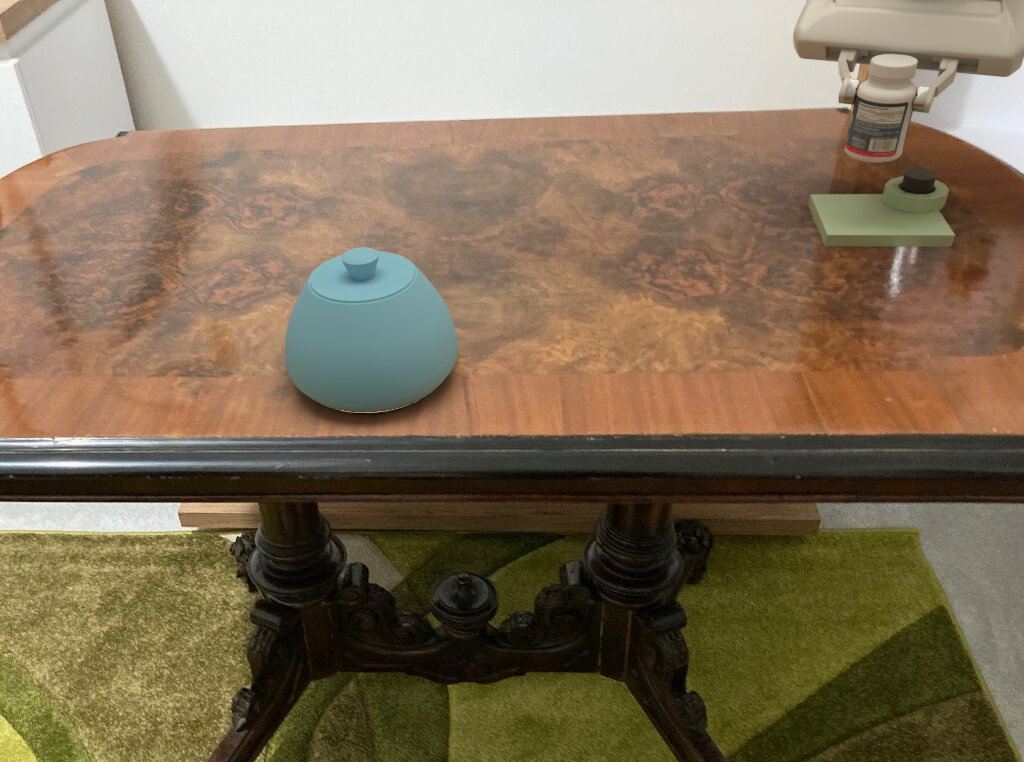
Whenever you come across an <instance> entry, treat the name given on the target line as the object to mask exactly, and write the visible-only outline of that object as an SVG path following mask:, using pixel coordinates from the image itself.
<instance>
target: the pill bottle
mask: <svg viewBox="0 0 1024 762" xmlns="http://www.w3.org/2000/svg"><path fill="white" fill-rule="evenodd" d="M917 64H918V60H917V59H916V58H914V57H911V56H908V55H902V54H883V55H877V56H875V57H873V58H872V59H871V62H870V65H869V66H868V70H867V76H868V77H869V78H868V79H866V80H864V81H863V82H861V83H860V86H859V87H858V90H857V93H856V98H855V103H854V105H853V107H852V113H851V117H850V121H849V126H848V131H847V135H846V138H845V139H846V140H845V145H844V152H845V155H847V156H848V157H850V158H852V159H855V160H857V161H861V162H866V163H887V162H892V161H895V160H897V159H899V158H900V157H901V156H902V155H903V153H904V149H905V146H906V145H905V144H906V140H907V136H908V133H909V128H910V125H911V124H910V123H911V120H912V116H913V112H914V111H912V109H913V102H914V99H915V97H916V95H917V90H918V87H917V85H916V84H915V83H914V82H913V81H911V80H912V79H914V78H915V75H916V73H917V70H918V69H917Z"/></svg>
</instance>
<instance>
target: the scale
mask: <svg viewBox="0 0 1024 762" xmlns="http://www.w3.org/2000/svg"><path fill="white" fill-rule="evenodd" d="M903 177H904V175H902V176H898V177H893V178H890V179H889V180H888V181H887V182H886V183H885V184H884V188H883V192H882V193H829V194H828V193H827V194H826V193H825V194H824V193H821V194H819V193H815V194H812V193H811V194H809V198H808V199H809V200H808V205H807V207H808V209H809V211H810V213H811V216H812V218H813V219H812V220H813V221H814V224H815V226H816V228H817V231H818V233H819V236H820V239H821V240H822V243H823V247H866V248H867V247H869V248H870V247H874V248H876V247H877V248H878V247H879V248H881V247H882V248H884V247H885V248H886V247H889V248H892V247H894V248H897V247H898V248H905V247H906V248H953V243H954V241H955V237H956V233H954V230H952V228H951V227H950V225H949V223H948V222H947V220H946V218H944V216H943V214H942V213H941V210H942V209H943V207H944V206H945V205H946V203H947V199H948V196H949V192H950V189H949V188H948V186H947V185H946V184H945V183H943V182H941V181H940V180H937V179H936V180H935V183H934V187H933V190H932V192H931V193H929V194H913V193H908V192H905V191H903V190H901V185H902V181H903Z"/></svg>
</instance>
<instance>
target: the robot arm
mask: <svg viewBox="0 0 1024 762" xmlns="http://www.w3.org/2000/svg"><path fill="white" fill-rule="evenodd" d="M792 45H793V49H794V51H795V52H796V54H797V57H798V58H800V59H803V60H814V61H826V62H835V63H836V62H837V65H838V67H837V68H838V74H839V79H840V82H841V87H840V90H839V92H838V104H842V105H843V104H844V105H852V106H854V103H855V98H856V93H857V90H858V87H859V86H860V85H861V80H860V79H854V78H852V75H851V73H853V72H855V68H856V66H857V64H858V65H866V66H867V65H869V66H870V62H871V59H872V58H873V57H875V56H877V55H883V54H902V55H908V56H911V57H914V58H916V59H917V60H918V64H917V69H916V70H923V71H933V72H934V71H935V72H938V73H937V74H938V75H937V78H936V79H934V81H932V82H931V83H930V84H929V85H928V86H925V85H924V86H922V85H918V87H917V95H916V97H915V99H914V102H913V109H912V111H913V112H917V113H923V114H929V113H930V112H931V109H932V107H933V103H934V101H935V98H937V97H938V96H940V94H942V93H943V92H944V91H945V90H946V89H947V88H948V87H950V85H952V84H953V83H954V81H955V79H956V75H957V74H966V75H977V76H978V75H979V76H989V77H1000V78H1008V77H1010V76H1011V75H1013V74H1015V72H1017V71H1018V70H1020V69H1021V67H1022V64H1023V61H1024V0H806V2H805V5H804V6H803V8H802V10H801V11H800V15H798V19H797V21H796V23H795V25H794V29H793V33H792Z"/></svg>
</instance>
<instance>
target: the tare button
mask: <svg viewBox="0 0 1024 762" xmlns="http://www.w3.org/2000/svg"><path fill="white" fill-rule="evenodd" d="M903 176H904V177H903V181H902V185H901V190H903V191H905V192H908V193H913V194H929V193H931V192H932V190H933V187H934V183H935V180H937V174H936V172H934V171H932V170H929V169H926V168H910V169H907V170H906V171H904V174H903Z"/></svg>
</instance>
